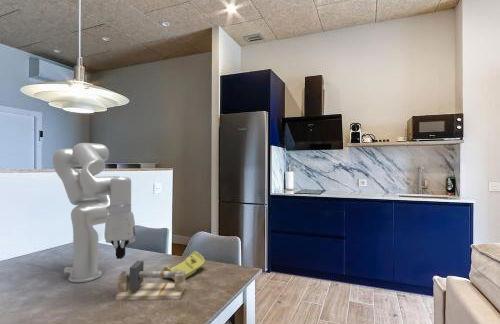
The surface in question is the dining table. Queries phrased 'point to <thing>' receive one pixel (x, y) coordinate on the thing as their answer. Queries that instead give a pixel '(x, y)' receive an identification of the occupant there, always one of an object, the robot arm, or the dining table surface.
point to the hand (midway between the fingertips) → (120, 257)
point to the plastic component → (188, 264)
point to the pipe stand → (152, 286)
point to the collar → (135, 275)
